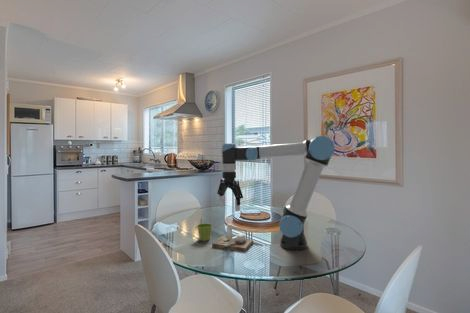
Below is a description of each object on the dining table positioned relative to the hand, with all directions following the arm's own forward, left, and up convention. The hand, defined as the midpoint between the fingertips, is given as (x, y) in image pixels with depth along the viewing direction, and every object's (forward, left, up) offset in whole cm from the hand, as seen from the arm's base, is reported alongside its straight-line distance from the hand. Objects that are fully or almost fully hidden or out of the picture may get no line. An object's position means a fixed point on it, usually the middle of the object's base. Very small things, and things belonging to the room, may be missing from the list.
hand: (229, 209), depth 151 cm
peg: (-2, -3, -20) cm, 20 cm away
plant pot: (+20, -8, -22) cm, 31 cm away
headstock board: (0, -5, -22) cm, 23 cm away
